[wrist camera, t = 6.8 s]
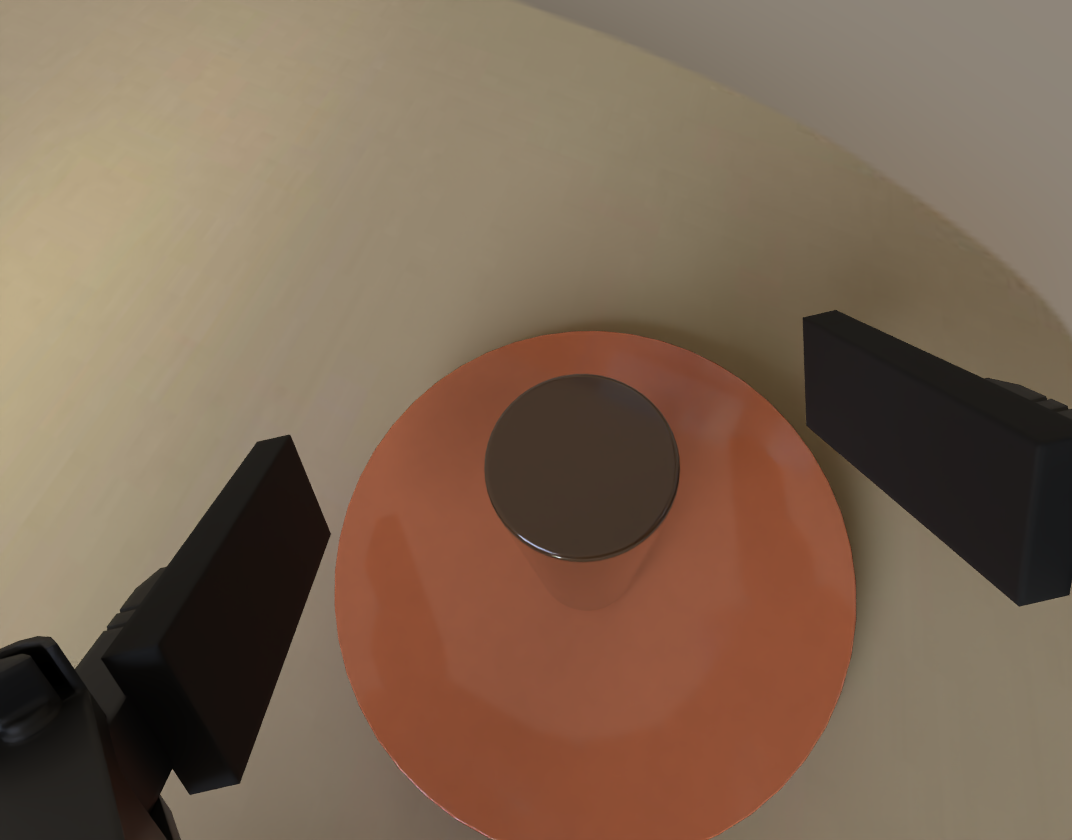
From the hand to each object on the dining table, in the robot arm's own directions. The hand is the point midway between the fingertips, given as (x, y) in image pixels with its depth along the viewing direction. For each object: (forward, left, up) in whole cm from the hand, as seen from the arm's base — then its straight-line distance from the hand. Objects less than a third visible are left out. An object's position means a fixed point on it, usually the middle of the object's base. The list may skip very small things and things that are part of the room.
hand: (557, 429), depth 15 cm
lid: (-2, +2, -4) cm, 5 cm away
